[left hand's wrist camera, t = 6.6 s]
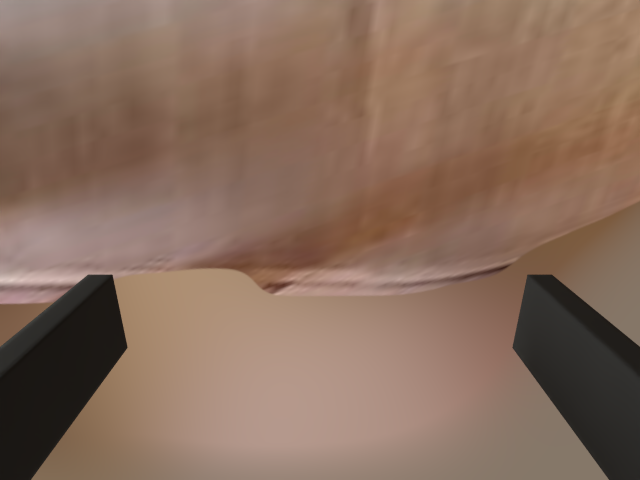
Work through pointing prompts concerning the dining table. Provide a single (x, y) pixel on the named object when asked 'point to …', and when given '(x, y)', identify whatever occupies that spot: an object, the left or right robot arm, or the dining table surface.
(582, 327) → the left robot arm
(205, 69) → the dining table surface
